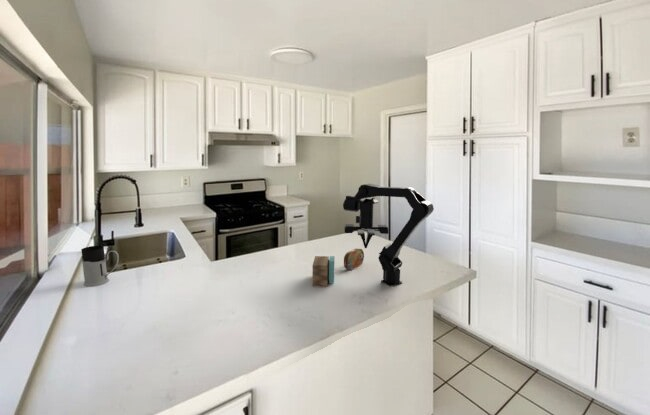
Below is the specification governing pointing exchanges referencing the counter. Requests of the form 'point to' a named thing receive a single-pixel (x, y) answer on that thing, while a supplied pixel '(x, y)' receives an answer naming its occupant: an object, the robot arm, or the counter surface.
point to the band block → (321, 271)
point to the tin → (353, 259)
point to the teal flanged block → (331, 269)
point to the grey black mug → (95, 265)
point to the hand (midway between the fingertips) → (365, 248)
